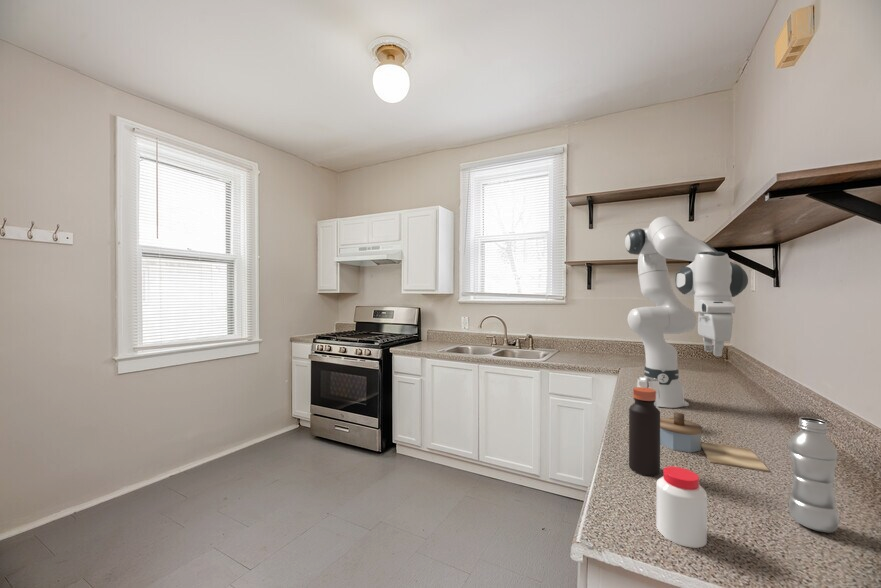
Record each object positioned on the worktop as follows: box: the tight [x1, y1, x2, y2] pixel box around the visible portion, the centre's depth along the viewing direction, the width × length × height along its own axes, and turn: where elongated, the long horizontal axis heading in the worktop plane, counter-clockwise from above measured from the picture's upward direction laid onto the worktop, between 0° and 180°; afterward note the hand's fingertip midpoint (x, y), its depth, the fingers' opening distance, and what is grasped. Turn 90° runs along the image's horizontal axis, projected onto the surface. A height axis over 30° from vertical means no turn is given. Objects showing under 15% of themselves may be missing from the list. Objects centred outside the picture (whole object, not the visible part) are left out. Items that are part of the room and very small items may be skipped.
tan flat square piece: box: [701, 441, 771, 473], centre depth 100 cm, size 14×12×1 cm
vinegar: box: [628, 386, 661, 477], centre depth 92 cm, size 7×7×20 cm
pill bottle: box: [655, 465, 708, 549], centre depth 67 cm, size 8×8×11 cm
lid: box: [660, 411, 703, 435], centre depth 107 cm, size 11×11×4 cm
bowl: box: [660, 428, 702, 453], centre depth 107 cm, size 10×10×5 cm
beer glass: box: [636, 376, 660, 410], centre depth 125 cm, size 7×7×15 cm
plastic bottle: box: [787, 416, 840, 534], centre depth 69 cm, size 6×7×20 cm
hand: (713, 353), depth 107 cm, fingers open, 8 cm apart
